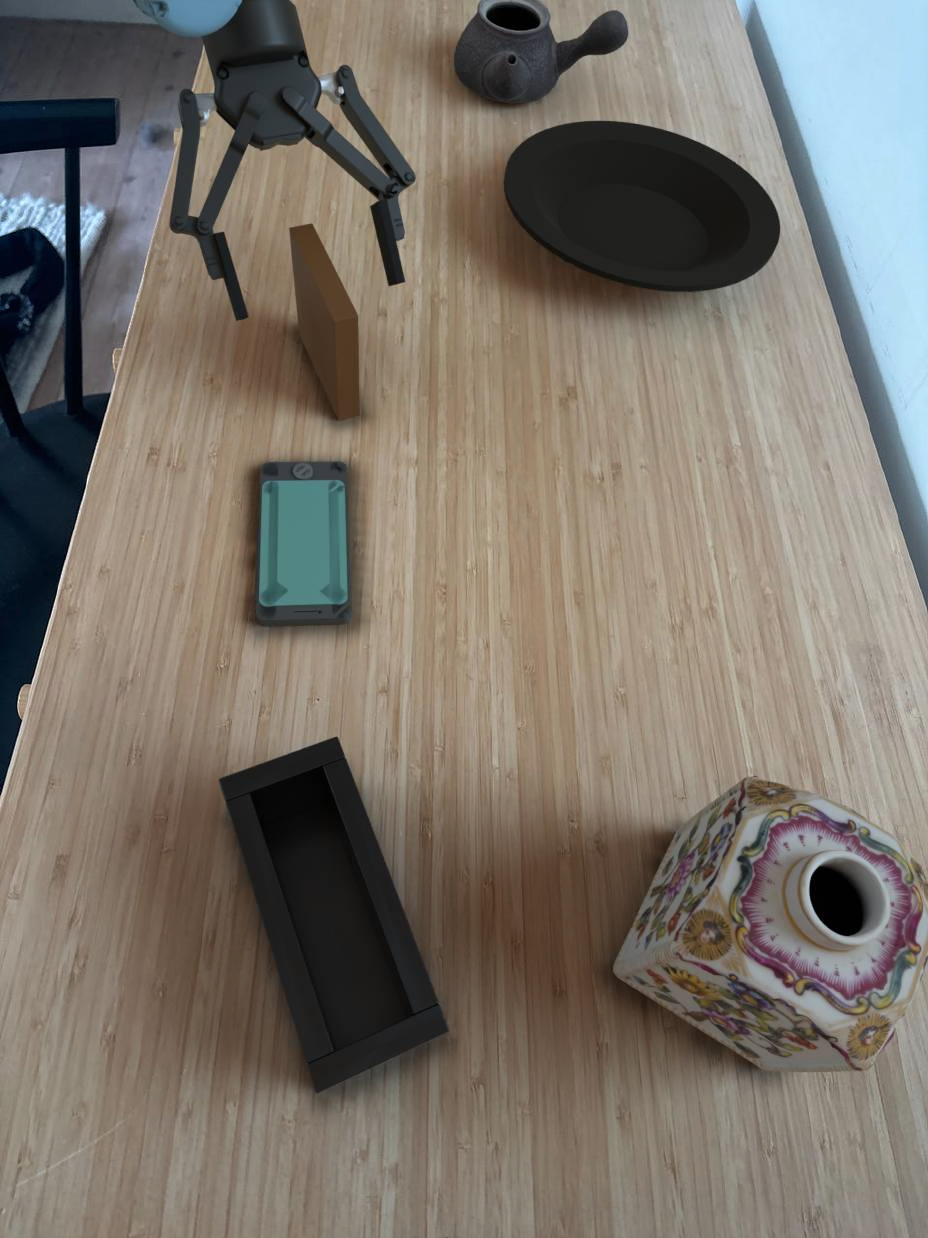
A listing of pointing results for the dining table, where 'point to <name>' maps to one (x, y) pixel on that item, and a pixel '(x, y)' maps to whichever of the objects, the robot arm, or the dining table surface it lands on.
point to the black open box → (331, 914)
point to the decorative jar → (783, 929)
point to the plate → (641, 206)
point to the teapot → (526, 49)
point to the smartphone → (303, 544)
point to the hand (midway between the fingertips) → (321, 301)
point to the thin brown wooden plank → (326, 321)
